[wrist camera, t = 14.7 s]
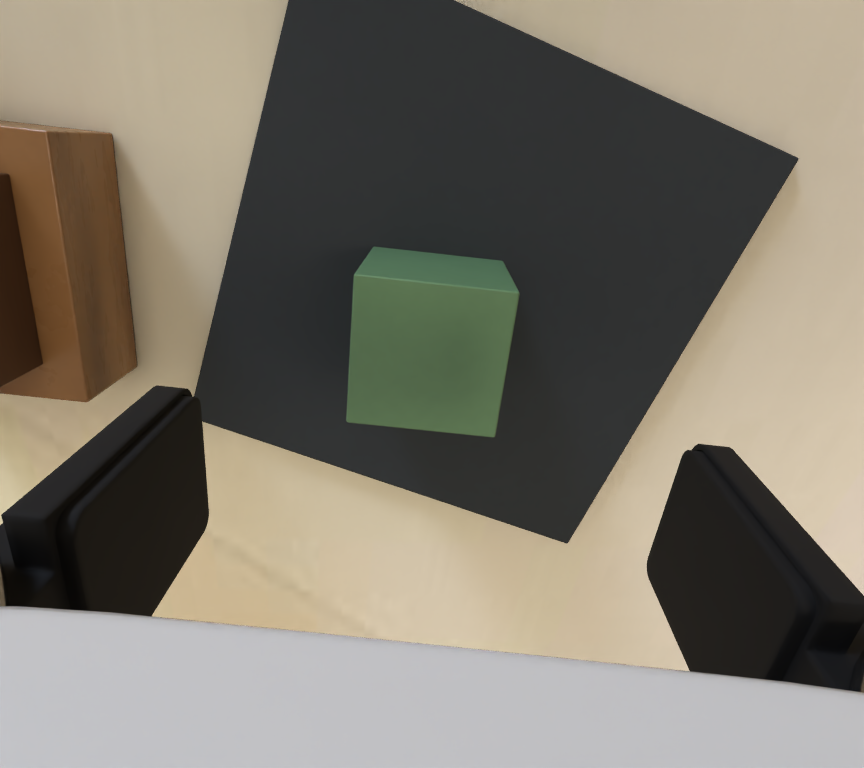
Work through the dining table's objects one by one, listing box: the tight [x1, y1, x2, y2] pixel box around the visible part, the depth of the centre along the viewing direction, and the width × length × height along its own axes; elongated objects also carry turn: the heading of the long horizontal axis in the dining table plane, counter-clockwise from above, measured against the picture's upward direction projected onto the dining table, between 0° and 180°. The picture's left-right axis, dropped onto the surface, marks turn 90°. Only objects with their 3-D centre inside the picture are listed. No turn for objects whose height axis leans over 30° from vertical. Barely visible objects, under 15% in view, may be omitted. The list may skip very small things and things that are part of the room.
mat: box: [194, 0, 798, 543], centre depth 24 cm, size 20×20×1 cm
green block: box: [346, 247, 519, 437], centre depth 22 cm, size 6×6×6 cm
